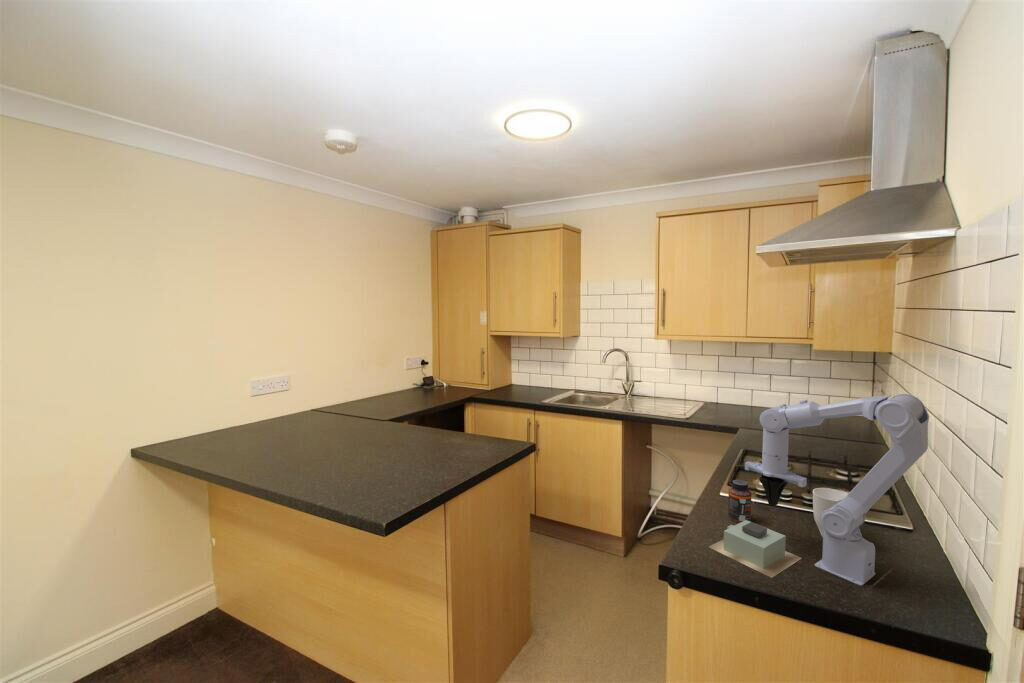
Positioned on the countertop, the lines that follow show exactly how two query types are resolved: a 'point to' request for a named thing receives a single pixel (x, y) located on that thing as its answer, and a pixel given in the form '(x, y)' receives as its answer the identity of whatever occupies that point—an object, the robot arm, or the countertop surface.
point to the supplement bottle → (739, 502)
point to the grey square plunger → (754, 529)
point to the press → (754, 545)
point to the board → (769, 570)
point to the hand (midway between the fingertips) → (773, 504)
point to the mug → (825, 502)
